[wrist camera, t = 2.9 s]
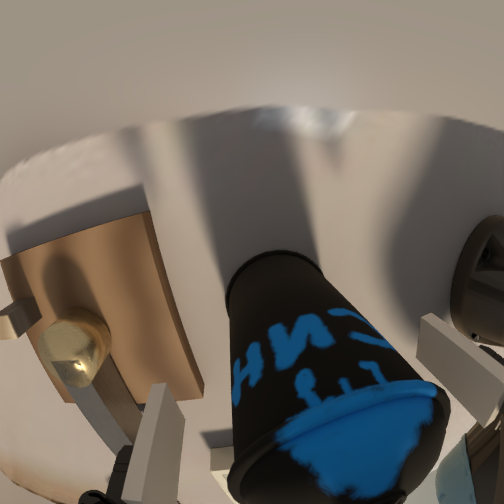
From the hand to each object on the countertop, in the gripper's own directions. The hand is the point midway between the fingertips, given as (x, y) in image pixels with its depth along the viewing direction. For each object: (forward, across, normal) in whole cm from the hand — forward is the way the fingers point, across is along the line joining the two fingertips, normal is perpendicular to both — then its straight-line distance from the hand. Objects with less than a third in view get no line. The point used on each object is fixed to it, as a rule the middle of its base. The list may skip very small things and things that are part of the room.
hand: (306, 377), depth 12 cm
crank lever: (+8, +16, +5) cm, 18 cm away
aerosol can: (+10, 0, 0) cm, 10 cm away
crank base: (+10, +16, -1) cm, 19 cm away
